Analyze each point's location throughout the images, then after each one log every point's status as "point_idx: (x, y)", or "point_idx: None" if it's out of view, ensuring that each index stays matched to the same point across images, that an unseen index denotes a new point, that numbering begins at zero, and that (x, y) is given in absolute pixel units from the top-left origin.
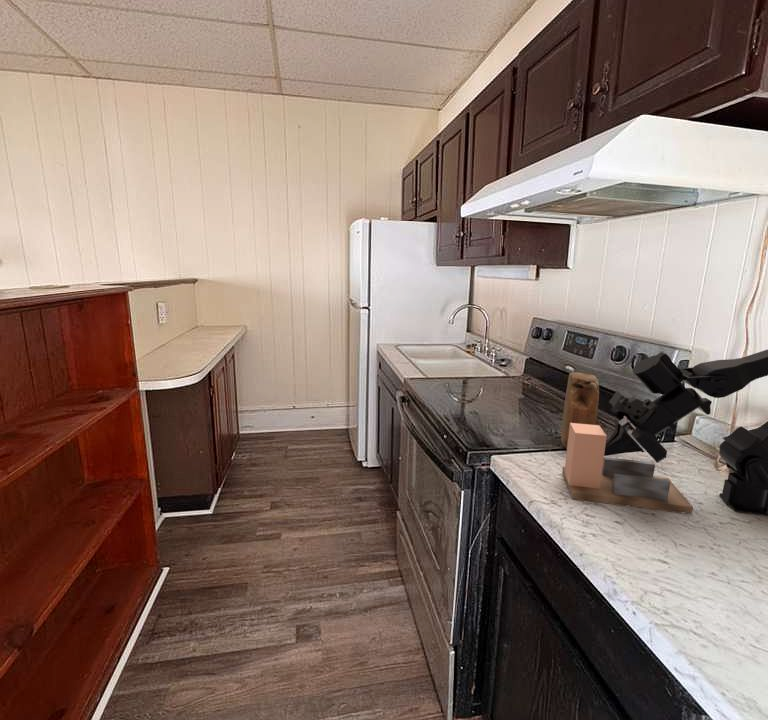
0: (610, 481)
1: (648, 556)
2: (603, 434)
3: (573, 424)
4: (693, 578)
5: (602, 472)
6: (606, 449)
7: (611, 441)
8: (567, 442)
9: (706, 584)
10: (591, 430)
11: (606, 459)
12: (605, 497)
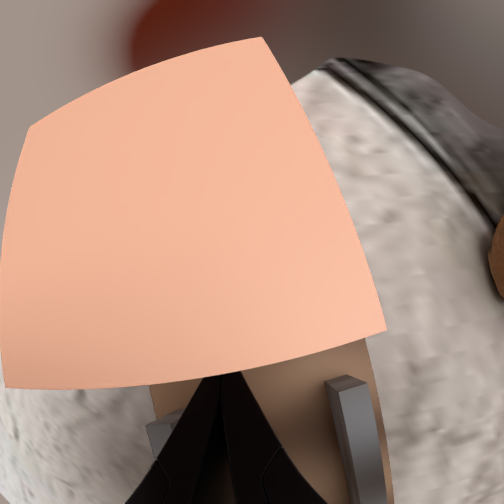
0: (282, 409)
1: (15, 415)
2: (20, 361)
3: (227, 56)
4: (8, 458)
5: (338, 378)
6: (190, 407)
7: (198, 460)
8: (501, 220)
9: (8, 468)
10: (81, 224)
11: (340, 398)
12: None
